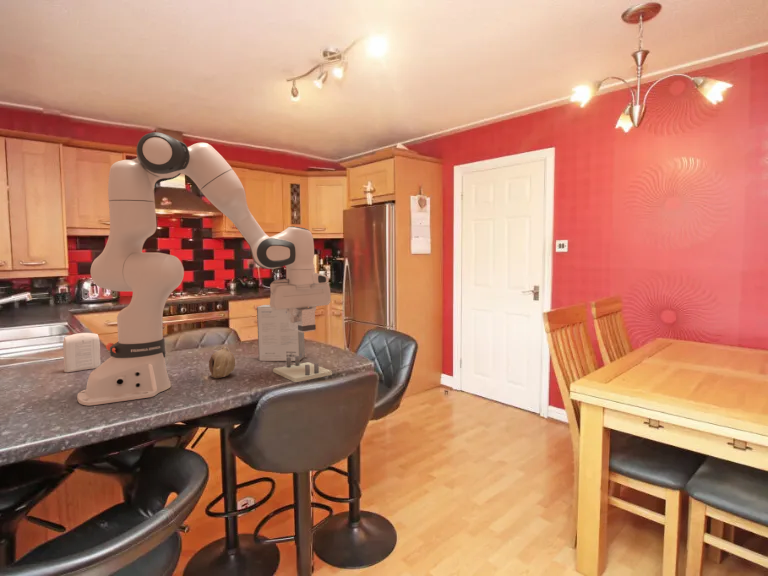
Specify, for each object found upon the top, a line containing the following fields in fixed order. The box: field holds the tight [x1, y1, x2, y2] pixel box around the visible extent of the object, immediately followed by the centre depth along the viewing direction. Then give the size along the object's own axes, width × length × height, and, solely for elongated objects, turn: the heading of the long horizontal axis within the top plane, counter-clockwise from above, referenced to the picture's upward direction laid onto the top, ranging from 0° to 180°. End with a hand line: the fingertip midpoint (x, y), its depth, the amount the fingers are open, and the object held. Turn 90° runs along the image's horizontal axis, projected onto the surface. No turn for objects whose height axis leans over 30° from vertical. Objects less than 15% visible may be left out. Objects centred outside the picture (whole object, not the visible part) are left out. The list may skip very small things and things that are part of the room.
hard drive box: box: [256, 304, 306, 362], centre depth 159 cm, size 16×8×20 cm, turn 84°
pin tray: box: [272, 356, 333, 383], centre depth 139 cm, size 13×15×4 cm
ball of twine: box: [208, 346, 236, 379], centre depth 137 cm, size 9×8×10 cm
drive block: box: [289, 307, 316, 333], centre depth 138 cm, size 5×9×7 cm, turn 40°
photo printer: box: [62, 332, 102, 373], centre depth 145 cm, size 10×4×12 cm, turn 135°
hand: (301, 321), depth 138 cm, fingers closed on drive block, 4 cm apart
